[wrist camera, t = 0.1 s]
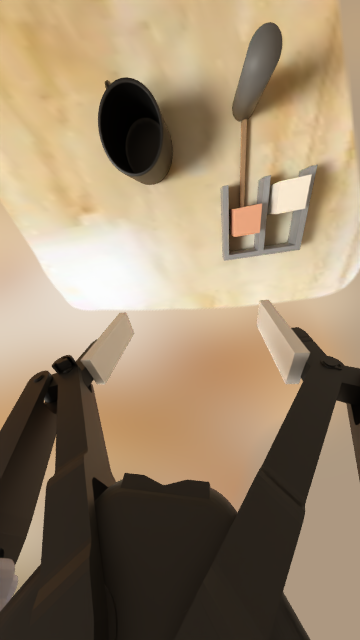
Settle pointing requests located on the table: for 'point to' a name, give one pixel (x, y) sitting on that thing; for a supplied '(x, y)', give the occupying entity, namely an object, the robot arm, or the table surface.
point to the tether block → (248, 93)
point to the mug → (134, 131)
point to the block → (288, 195)
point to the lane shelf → (262, 198)
